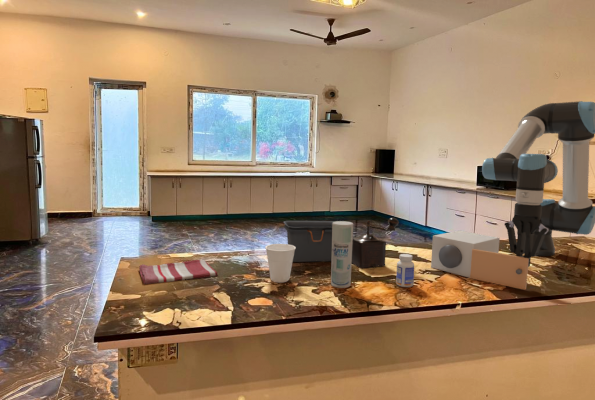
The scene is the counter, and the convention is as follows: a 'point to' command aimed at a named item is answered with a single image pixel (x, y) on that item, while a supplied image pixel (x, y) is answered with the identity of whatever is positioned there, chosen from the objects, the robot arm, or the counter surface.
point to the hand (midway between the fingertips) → (521, 276)
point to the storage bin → (310, 240)
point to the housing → (459, 250)
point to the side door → (499, 268)
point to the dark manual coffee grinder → (371, 247)
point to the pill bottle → (405, 271)
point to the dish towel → (176, 271)
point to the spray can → (341, 254)
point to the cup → (280, 261)
